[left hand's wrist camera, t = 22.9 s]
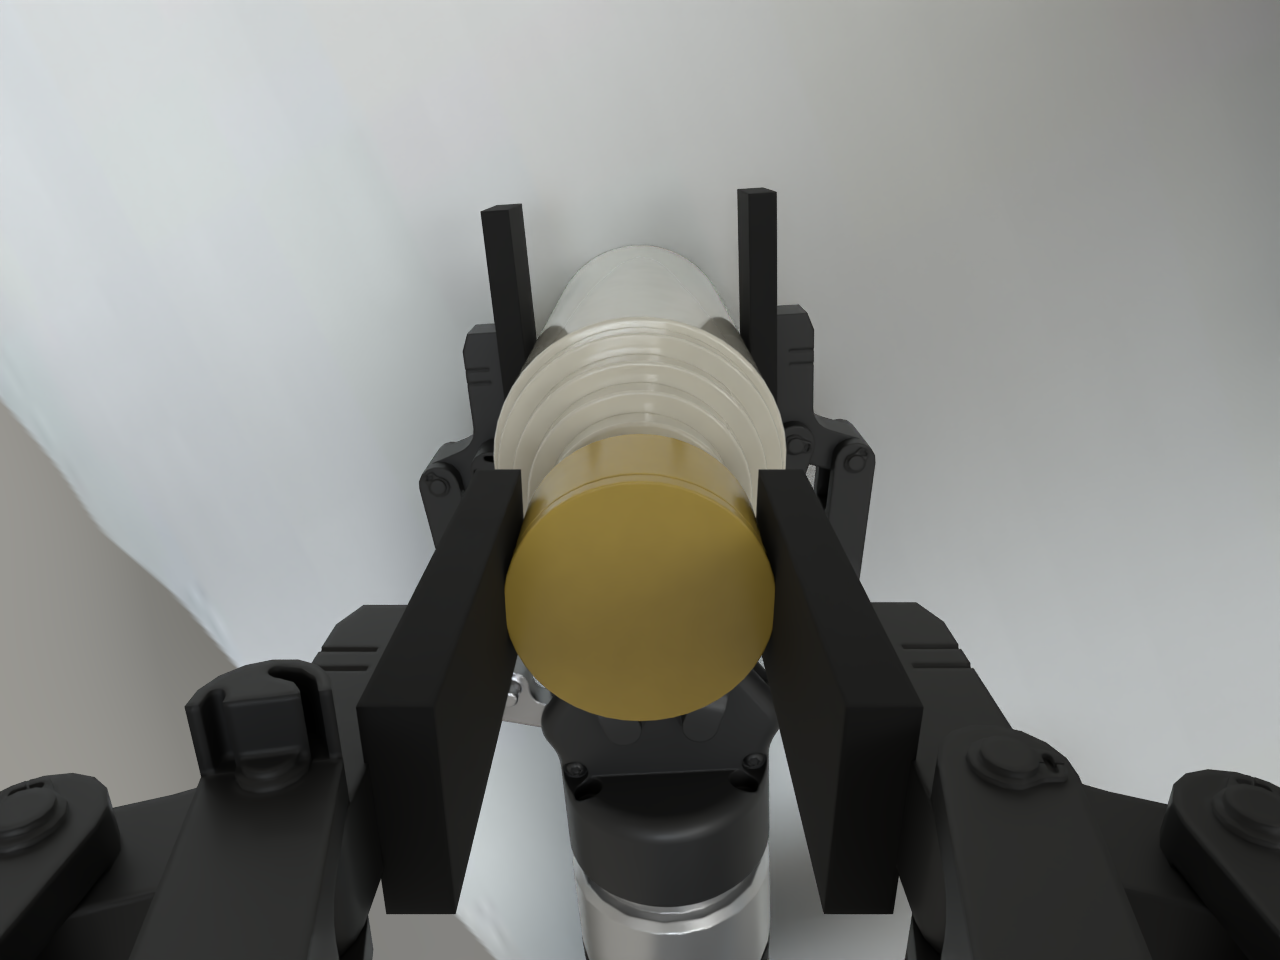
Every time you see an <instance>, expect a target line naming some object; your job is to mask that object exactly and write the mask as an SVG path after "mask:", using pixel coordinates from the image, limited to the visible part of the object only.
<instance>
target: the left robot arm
mask: <svg viewBox="0 0 1280 960" xmlns="http://www.w3.org/2000/svg"><path fill="white" fill-rule="evenodd" d="M523 520H524V515H523V497H522V479H521V469H476V471H475V473H474V475H473V477H472V479H471V481H470V483H469V485H468V487H467V489H466V491H465V493H464V495H463V497H462V499H461V501H460V503H459V505H458V507H457V509H456V511H455V513H454V515H453V517H452V519H451V520H450V522H449V524H448V526H447V528H446V530H445V532H444V534H443V536H442V538H441V540H440V542H439V544H438V546H437V548H436V550H435V552H434V554H433V556H432V558H431V560H430V562H429V564H428V566H427V568H426V570H425V572H424V574H423V576H422V578H421V580H420V581H419V583H418V585H417V587H416V589H415V591H414V593H413V595H412V597H411V599H410V601H409V603H408V605H363V606H361V607H360V608H359V609H357V610H356V611H354V612H353V613H352V614H350V615H349V616H347V617H346V618H345V619H343V620H342V621H340V622H339V623H338V624H336V626H335V627H334V629H333V630H332V632H331V633H330V635H329V637H328V638H327V640H326V641H325V643H324V644H323V646H322V651H321V652H318V654H317V655H316V657H315V659H314V660H313V662H312V663H309V662H305V661H301V660H269V661H264V662H259V663H254V664H249V665H245V666H242V667H240V668H237V669H235V670H233V671H230V672H228V673H225V674H223V675H220V676H218V677H217V678H215V679H214V680H212V681H211V682H209V683H208V684H206V685H205V686H203V687H202V688H200V689H199V690H198V691H197V692H196V693H195V694H194V696H193V697H192V698H191V699H190V700H189V702H188V703H187V704H186V706H185V711H186V715H187V719H188V723H189V727H190V731H191V736H192V740H193V744H194V749H195V753H196V757H197V761H198V765H199V770H200V773H201V779H200V781H199V784H198V786H197V788H195V789H191V790H187V791H184V792H181V793H177V794H174V795H170V796H165V797H160V798H156V799H151V800H147V801H142V802H138V803H133V804H128V805H124V806H119V807H115V808H113V807H112V804H111V800H110V797H109V794H108V790H107V788H106V787H105V786H104V785H103V784H102V783H101V782H99V781H98V780H97V779H96V778H95V777H91V776H86V775H81V774H75V773H68V774H58V775H48V776H42V777H39V778H36V779H31V780H29V781H24V782H21V783H19V784H16V785H13V786H10V787H9V788H7V789H4V790H3V791H0V960H372V957H373V944H372V938H371V931H370V925H369V918H368V913H369V911H370V908H371V905H372V902H373V899H374V897H375V894H376V891H377V888H378V885H379V882H380V880H381V881H382V888H383V894H384V901H385V908H386V914H456V910H457V906H458V902H459V898H460V893H461V889H462V885H463V881H464V877H465V873H466V868H467V864H468V860H469V856H470V852H471V848H472V843H473V839H474V835H475V831H476V827H477V823H478V818H479V814H480V810H481V806H482V802H483V798H484V793H485V789H486V785H487V781H488V777H489V773H490V768H491V764H492V760H493V756H494V752H495V748H496V744H497V739H498V735H499V731H500V727H501V723H502V719H503V714H504V710H505V706H506V702H507V698H508V694H509V689H510V685H511V681H512V677H513V673H514V669H515V664H516V660H517V656H518V654H517V652H516V650H515V648H514V646H513V644H512V641H511V639H510V637H509V633H508V630H507V621H506V607H505V590H504V587H505V579H506V574H507V571H508V568H509V565H510V562H511V558H512V555H513V552H514V549H515V546H516V542H517V539H518V536H519V533H520V530H521V526H522V523H523ZM756 520H757V524H758V527H759V530H760V533H761V536H762V539H763V543H764V546H765V549H766V552H767V555H768V559H769V562H770V565H771V568H772V571H773V575H774V579H775V600H774V615H773V628H772V633H771V636H770V639H769V641H768V644H767V646H766V648H765V650H764V652H763V654H762V658H763V662H764V666H765V670H766V675H767V679H768V683H769V687H770V691H771V695H772V700H773V704H774V708H775V712H776V716H777V720H778V725H779V729H780V733H781V737H782V741H783V745H784V750H785V754H786V758H787V762H788V766H789V770H790V775H791V779H792V783H793V787H794V791H795V795H796V800H797V804H798V808H799V812H800V816H801V820H802V825H803V829H804V833H805V837H806V841H807V845H808V849H809V854H810V858H811V862H812V866H813V870H814V874H815V879H816V883H817V887H818V891H819V895H820V899H821V904H822V908H823V912H824V914H893V912H894V905H895V898H896V891H897V885H898V878H899V877H900V880H901V882H902V885H903V888H904V891H905V894H906V896H907V899H908V902H909V905H910V908H911V910H912V918H911V925H910V931H909V937H908V943H907V950H906V956H905V960H1280V787H1278V786H1276V785H1274V784H1272V783H1270V782H1267V781H1264V780H1261V779H1259V778H1256V777H1255V778H1254V777H1251V776H1248V775H1244V774H1241V773H1237V772H1229V771H1219V770H1210V769H1207V770H1202V771H1196V772H1191V773H1186V774H1185V775H1184V776H1182V777H1181V778H1180V779H1179V780H1178V781H1177V782H1176V783H1174V785H1173V788H1172V791H1171V795H1170V798H1169V802H1168V804H1163V803H1159V802H1154V801H1149V800H1145V799H1140V798H1136V797H1131V796H1126V795H1122V794H1117V793H1113V792H1108V791H1105V790H1101V789H1098V788H1094V787H1091V786H1087V785H1084V784H1082V782H1081V780H1080V777H1079V775H1078V774H1077V773H1076V771H1075V770H1074V768H1073V767H1072V765H1071V764H1070V762H1069V761H1068V759H1067V758H1066V757H1064V756H1063V755H1062V754H1060V753H1059V752H1058V751H1057V750H1055V749H1054V748H1053V747H1051V746H1050V745H1049V744H1047V743H1046V742H1044V741H1042V740H1039V739H1037V738H1035V737H1033V736H1031V735H1028V734H1026V733H1024V732H1022V731H1018V730H1014V729H1012V727H1011V726H1010V724H1009V723H1008V721H1007V720H1006V718H1005V717H1004V715H1003V713H1002V712H1001V710H1000V709H999V707H998V706H997V704H996V703H995V701H994V699H993V698H992V696H991V695H990V693H989V692H988V690H987V688H986V687H985V685H984V684H983V682H982V681H981V679H980V678H979V676H978V674H977V673H976V671H975V670H974V668H971V667H970V662H969V660H968V659H967V657H966V656H965V654H964V653H963V651H962V650H961V649H959V648H958V643H957V642H956V640H955V639H954V637H953V635H952V634H951V632H950V631H949V629H948V628H947V626H946V625H945V623H944V622H943V621H942V620H940V619H939V618H938V617H936V616H935V615H933V614H932V613H931V612H929V611H928V610H926V609H925V608H924V607H922V606H921V605H919V604H918V603H916V602H870V600H869V598H868V596H867V594H866V592H865V590H864V588H863V586H862V584H861V582H860V581H859V579H858V577H857V575H856V573H855V571H854V569H853V567H852V565H851V563H850V561H849V559H848V557H847V555H846V553H845V551H844V549H843V547H842V545H841V543H840V541H839V539H838V537H837V535H836V533H835V531H834V529H833V527H832V525H831V523H830V521H829V519H828V517H827V516H826V514H825V512H824V510H823V508H822V506H821V504H820V502H819V500H818V498H817V496H816V494H815V492H814V490H813V488H812V486H811V484H810V482H809V480H808V478H807V476H806V474H805V472H804V470H803V469H759V470H758V488H757V507H756Z"/></svg>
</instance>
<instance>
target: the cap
mask: <svg viewBox="0 0 1280 960" xmlns="http://www.w3.org/2000/svg"><path fill="white" fill-rule="evenodd" d="M504 590H505V607H506V621H507V630H508V633H509V637H510V639H511V641H512V644H513V646H514V648H515V650H516V652H517V654H518V656H519V657H520V659H521V660H522V662H523V663H524V665H525V666H526V668H527V669H528V670H529V671H530V672H531V674H532V675H533V676H534V677H535V678H536V679H537V680H538V681H539V682H540V683H541V684H542V685H543V686H544V687H545V688H546V689H548V690H549V691H550V692H552V693H553V694H555V695H556V696H557V697H559V698H560V699H562V700H564V701H566V702H567V703H569V704H571V705H573V706H575V707H577V708H580V709H582V710H584V711H587V712H589V713H593V714H596V715H600V716H603V717H607V718H613V719H619V720H629V721H651V720H661V719H667V718H673V717H677V716H680V715H684V714H688V713H690V712H693V711H695V710H698V709H700V708H703V707H705V706H707V705H709V704H711V703H713V702H714V701H716V700H718V699H720V698H721V697H722V696H724V695H725V694H727V693H728V692H730V691H731V690H732V689H733V688H735V687H736V686H737V685H738V684H739V683H740V682H741V681H742V680H743V679H744V678H745V677H746V676H747V675H748V674H749V672H750V671H751V670H752V669H753V668H754V666H755V665H756V663H757V662H758V660H759V659H760V657H761V656H762V654H763V652H764V650H765V648H766V646H767V644H768V641H769V639H770V636H771V633H772V628H773V615H774V600H775V579H774V575H773V571H772V568H771V565H770V562H769V559H768V555H767V552H766V549H765V546H764V543H763V539H762V536H761V533H760V530H759V527H758V524H757V520H756V517H755V514H754V511H753V508H752V505H751V503H750V500H749V498H748V496H747V494H746V492H745V490H744V489H743V487H742V486H741V484H740V483H739V481H738V480H737V479H736V478H735V476H734V475H733V474H732V473H731V472H730V471H729V470H728V469H727V468H726V467H725V466H724V465H723V464H722V463H720V462H719V461H718V460H717V459H716V458H714V457H713V456H711V455H710V454H708V453H707V452H705V451H704V450H702V449H700V448H698V447H696V446H694V445H691V444H689V443H687V442H684V441H681V440H678V439H675V438H671V437H666V436H661V435H653V434H626V435H619V436H614V437H609V438H605V439H602V440H599V441H596V442H593V443H591V444H589V445H586V446H584V447H582V448H580V449H578V450H576V451H575V452H573V453H572V454H570V455H569V456H567V457H565V458H564V459H563V460H562V461H561V462H559V463H558V464H557V465H556V466H555V467H554V468H553V469H552V470H551V471H550V472H549V473H548V474H547V475H546V476H545V477H544V479H543V480H542V481H541V483H540V484H539V486H538V487H537V489H536V490H535V492H534V494H533V496H532V498H531V500H530V502H529V504H528V508H527V511H526V514H525V517H524V520H523V523H522V526H521V530H520V533H519V536H518V539H517V542H516V546H515V549H514V552H513V555H512V558H511V562H510V565H509V568H508V571H507V574H506V579H505V587H504Z"/></svg>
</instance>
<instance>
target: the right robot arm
mask: <svg viewBox="0 0 1280 960" xmlns="http://www.w3.org/2000/svg"><path fill="white" fill-rule="evenodd" d="M737 195H738V247H739V300H740V336H741V337H742V339H743V341H744V343H745V345H746V347H747V349H748V351H749V352H750V354H751V356H752V358H753V360H754V362H755V364H756V365H757V367H758V369H759V371H760V373H761V375H762V377H763V378H764V380H765V382H766V384H767V386H768V388H769V390H770V391H771V393H772V395H773V397H774V400H775V402H776V405H777V407H778V410H779V412H780V415H781V419H782V423H783V427H784V431H785V440H786V450H787V451H786V469H803V470H804V472H805V474H806V471H807V468H808V466H809V464H811V465H815V466H816V473H815V482H814V492H815V494H816V496H817V498H818V500H819V502H820V504H821V506H822V508H823V510H824V512H825V514H826V516H827V517H828V519H829V521H830V523H831V525H832V527H833V529H834V531H835V533H836V535H837V537H838V539H839V541H840V543H841V545H842V547H843V549H844V551H845V553H846V555H847V557H848V559H849V561H850V563H851V565H852V567H853V569H854V571H855V573H856V575H857V577H858V579H860V571H861V564H862V557H863V549H864V542H865V535H866V527H867V520H868V513H869V505H870V498H871V491H872V483H873V476H874V469H875V455H874V453H873V451H872V449H871V448H870V447H869V445H868V444H867V443H866V441H865V440H864V439H863V437H862V436H861V435H860V434H859V432H858V431H857V430H856V428H855V427H854V426H853V425H852V424H851V423H850V422H848V421H847V420H843V419H836V420H832V419H828V418H825V417H821V416H819V415H817V414H815V413H814V411H813V371H814V365H813V362H814V350H813V349H814V329H813V326H812V324H811V321H810V319H809V316H808V314H807V312H806V311H805V310H804V309H803V308H802V307H801V306H800V305H784V306H777V192H775V191H772V190H769V189H766V188H749V189H737ZM481 219H482V227H483V235H484V243H485V251H486V259H487V267H488V275H489V282H490V290H491V298H492V306H493V314H494V322H495V324H479V325H475V326H474V327H473V328H472V329H471V331H470V332H469V333H468V334H467V337H466V341H465V345H464V349H463V357H464V364H465V370H466V378H467V383H468V392H469V399H470V406H471V413H472V420H473V427H474V434H473V435H471V436H470V437H468V438H465V439H463V440H461V441H458V442H449V443H446V444H444V445H443V446H442V447H441V448H440V449H439V450H438V451H437V453H436V454H435V456H434V457H433V459H432V460H431V462H430V463H429V465H428V466H427V468H426V469H425V471H424V472H423V474H422V476H421V478H420V481H419V489H420V492H421V496H422V500H423V504H424V507H425V511H426V515H427V519H428V522H429V526H430V530H431V533H432V537H433V541H434V545H435V548H437V546H438V544H439V542H440V540H441V538H442V536H443V534H444V532H445V530H446V528H447V526H448V524H449V522H450V520H451V519H452V517H453V515H454V513H455V511H456V509H457V507H458V505H459V503H460V501H461V499H462V497H463V495H464V493H465V491H466V489H467V487H468V485H469V483H470V481H471V479H472V477H473V475H474V473H475V471H476V469H495V467H494V438H495V433H496V428H497V422H498V419H499V416H500V413H501V410H502V407H503V404H504V402H505V400H506V398H507V396H508V394H509V392H510V390H511V388H512V386H513V384H514V382H515V380H516V379H517V377H518V375H519V373H520V371H521V369H522V367H523V366H524V364H525V362H526V360H527V358H528V356H529V354H530V353H531V351H532V349H533V347H534V345H535V343H536V341H537V339H536V330H535V321H534V312H533V302H532V293H531V284H530V275H529V266H528V257H527V247H526V238H525V229H524V220H523V211H522V204H508V205H496V206H493V207H491V208H488V209H486V210H483V211H481ZM502 721H507V722H513V723H519V724H526V725H532V726H538V727H542V731H543V734H544V736H545V738H546V739H547V741H548V742H549V743H550V744H551V745H552V747H553V748H554V749H555V751H556V752H557V754H558V756H559V759H560V762H561V768H562V776H563V784H564V793H565V801H566V809H567V817H568V826H569V834H570V841H571V847H572V851H573V854H574V855H573V869H574V876H575V884H576V891H577V899H578V906H579V913H580V921H581V928H582V939H583V945H584V950H585V956H586V960H769V928H770V859H769V843H768V838H769V747H770V743H771V741H772V739H773V737H774V735H775V734H776V732H777V731H778V729H779V725H778V720H777V716H776V712H775V708H774V704H773V700H772V695H771V691H770V687H769V683H768V679H767V675H766V670H765V669H764V668H763V667H762V666H761V665H760V663H759V662H757V663H756V665H755V666H754V668H753V669H752V670H751V671H750V672H749V674H748V675H747V676H746V677H745V678H744V679H743V680H742V681H741V682H740V683H739V684H738V685H737V686H736V687H735V688H733V689H732V690H731V691H730V692H728V693H727V694H725V695H724V696H722V697H721V698H720V699H718V700H716V701H714V702H713V703H711V704H709V705H707V706H705V707H703V708H700V709H698V710H695V711H693V712H690V713H688V714H684V715H680V716H677V717H673V718H667V719H661V720H651V721H629V720H619V719H613V718H607V717H603V716H600V715H596V714H593V713H589V712H587V711H584V710H582V709H580V708H577V707H575V706H573V705H571V704H569V703H567V702H566V701H564V700H562V699H560V698H559V697H557V696H556V695H555V694H553V693H552V692H550V691H549V690H548V689H546V688H543V687H541V686H539V685H538V684H537V683H536V682H535V680H534V678H533V675H532V674H531V672H530V671H529V670H528V669H527V668H526V666H525V665H524V663H523V662H522V660H521V659H520V657H519V656H517V660H516V664H515V669H514V673H513V677H512V681H511V685H510V689H509V694H508V698H507V702H506V706H505V710H504V714H503V719H502Z"/></svg>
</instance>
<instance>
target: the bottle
mask: <svg viewBox="0 0 1280 960" xmlns="http://www.w3.org/2000/svg"><path fill="white" fill-rule="evenodd" d="M626 434H653V435H661V436H666V437H671V438H675V439H678V440H681V441H684V442H687V443H689V444H691V445H694V446H696V447H698V448H700V449H702V450H704V451H705V452H707V453H708V454H710V455H711V456H713V457H714V458H716V459H717V460H718V461H719V462H720V463H722V464H723V465H724V466H725V467H726V468H727V469H728V470H729V471H730V472H731V473H732V474H733V475H734V476H735V478H736V479H737V480H738V481H739V483H740V484H741V486H742V487H743V489H744V490H745V492H746V494H747V496H748V498H749V500H750V503H751V505H752V508H753V511H754V514H755V517H756V507H757V488H758V470H759V469H786V451H787V450H786V440H785V431H784V427H783V423H782V419H781V415H780V412H779V410H778V407H777V405H776V402H775V400H774V397H773V395H772V393H771V391H770V390H769V388H768V386H767V384H766V382H765V380H764V378H763V377H762V375H761V373H760V371H759V369H758V367H757V365H756V364H755V362H754V360H753V358H752V356H751V354H750V352H749V351H748V349H747V347H746V345H745V343H744V341H743V339H742V337H741V336H740V334H739V332H738V330H737V328H736V326H735V324H734V323H733V321H732V319H731V317H730V315H729V313H728V311H727V310H726V308H725V306H724V304H723V302H722V300H721V298H720V297H719V295H718V293H717V291H716V289H715V288H714V286H713V284H712V283H711V281H710V280H709V279H708V278H707V276H706V275H705V274H704V273H703V272H702V271H701V270H700V269H699V268H698V267H697V266H696V265H695V264H693V263H692V262H691V261H689V260H688V259H686V258H685V257H683V256H681V255H679V254H677V253H675V252H672V251H670V250H667V249H664V248H660V247H656V246H647V245H632V246H626V247H620V248H617V249H613V250H610V251H608V252H605V253H603V254H601V255H599V256H597V257H596V258H594V259H592V260H591V261H589V262H588V263H587V264H586V265H584V266H583V267H582V268H581V269H580V270H579V271H578V272H577V273H576V274H575V275H574V276H573V277H572V279H571V280H570V282H569V283H568V285H567V286H566V288H565V289H564V291H563V293H562V295H561V297H560V299H559V301H558V302H557V304H556V306H555V308H554V310H553V312H552V314H551V315H550V317H549V319H548V321H547V323H546V325H545V327H544V328H543V330H542V332H541V334H540V336H539V338H538V340H537V341H536V343H535V345H534V347H533V349H532V351H531V353H530V354H529V356H528V358H527V360H526V362H525V364H524V366H523V367H522V369H521V371H520V373H519V375H518V377H517V379H516V380H515V382H514V384H513V386H512V388H511V390H510V392H509V394H508V396H507V398H506V400H505V402H504V404H503V407H502V410H501V413H500V416H499V419H498V422H497V428H496V433H495V438H494V467H495V469H521V479H522V497H523V515H524V517H525V514H526V511H527V508H528V504H529V502H530V500H531V498H532V496H533V494H534V492H535V490H536V489H537V487H538V486H539V484H540V483H541V481H542V480H543V479H544V477H545V476H546V475H547V474H548V473H549V472H550V471H551V470H552V469H553V468H554V467H555V466H556V465H557V464H558V463H559V462H561V461H562V460H563V459H564V458H565V457H567V456H569V455H570V454H572V453H573V452H575V451H576V450H578V449H580V448H582V447H584V446H586V445H589V444H591V443H593V442H596V441H599V440H602V439H605V438H609V437H614V436H619V435H626Z"/></svg>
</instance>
